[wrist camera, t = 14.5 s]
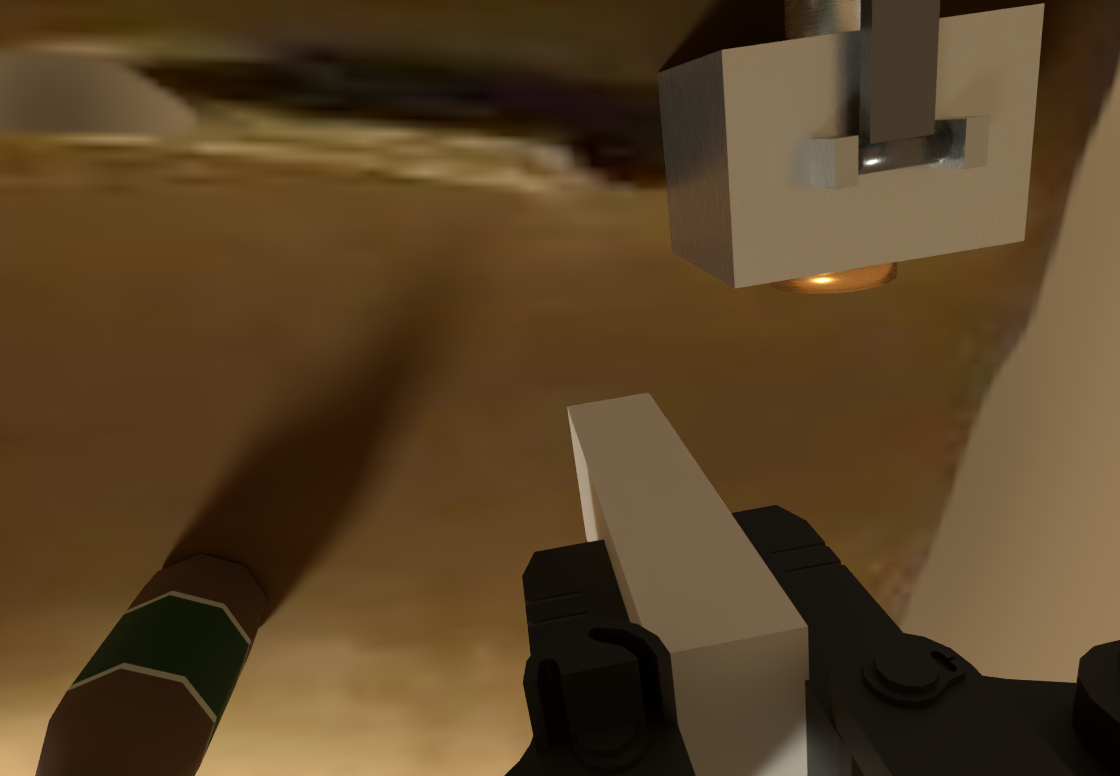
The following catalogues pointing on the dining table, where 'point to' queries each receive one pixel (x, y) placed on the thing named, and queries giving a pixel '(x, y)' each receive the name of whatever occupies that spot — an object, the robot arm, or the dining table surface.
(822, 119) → the hitch block
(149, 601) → the beer bottle
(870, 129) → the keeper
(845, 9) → the pin
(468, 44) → the dining table surface
